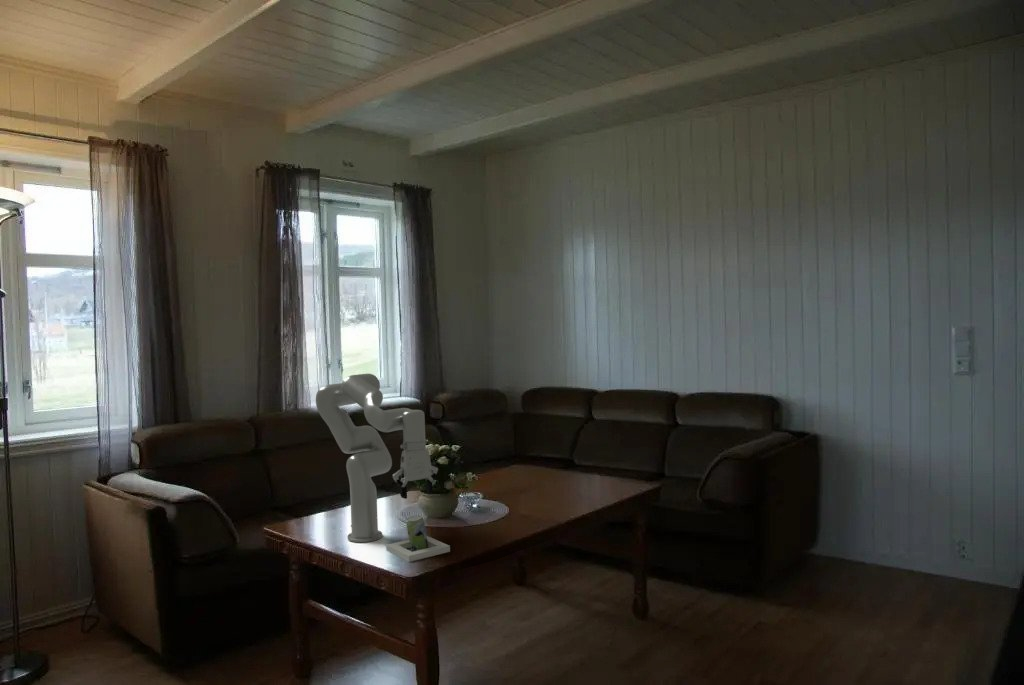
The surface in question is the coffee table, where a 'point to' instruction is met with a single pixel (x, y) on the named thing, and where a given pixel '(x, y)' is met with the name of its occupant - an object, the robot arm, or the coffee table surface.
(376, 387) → the robot arm
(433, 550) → the can holder
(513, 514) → the coffee table surface
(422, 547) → the beverage can
